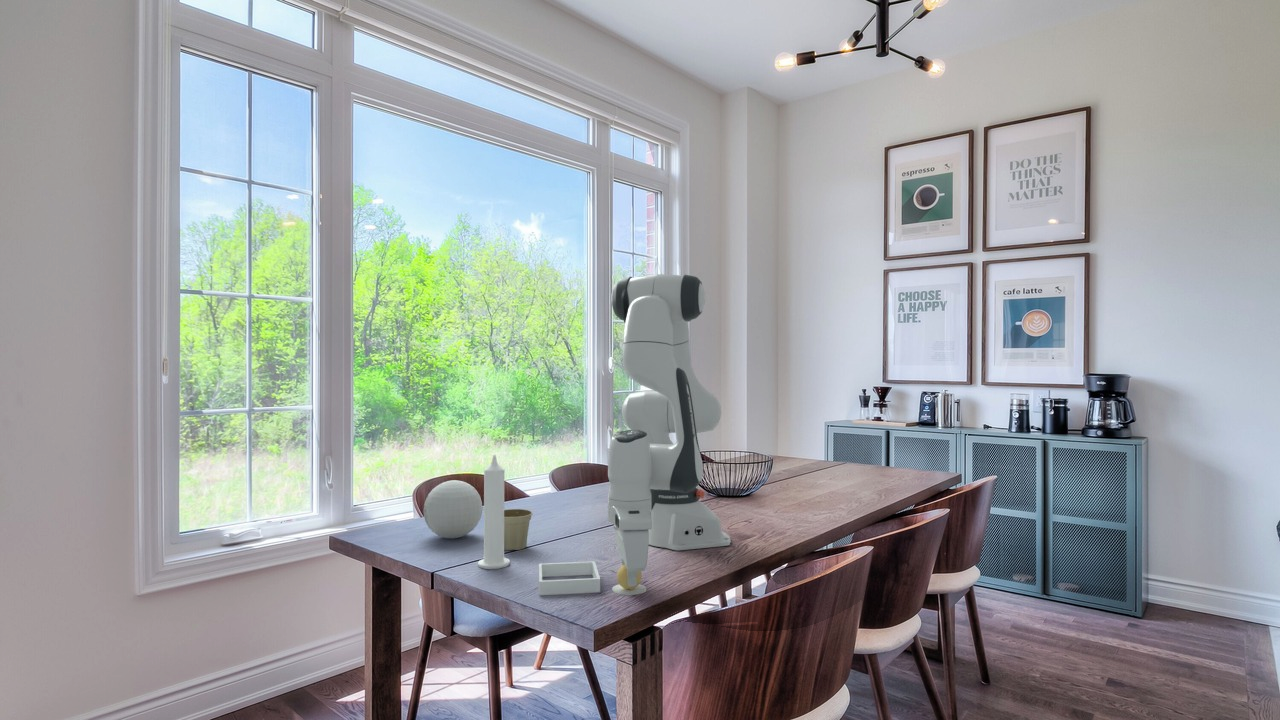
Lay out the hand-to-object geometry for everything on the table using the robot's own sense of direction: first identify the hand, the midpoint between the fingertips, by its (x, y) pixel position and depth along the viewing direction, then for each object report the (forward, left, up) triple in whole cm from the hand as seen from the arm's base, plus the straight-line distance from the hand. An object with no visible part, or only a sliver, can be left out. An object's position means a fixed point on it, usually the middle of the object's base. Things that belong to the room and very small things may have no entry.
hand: (629, 580), depth 134 cm
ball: (0, 0, -2) cm, 2 cm away
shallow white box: (+12, -5, -2) cm, 13 cm away
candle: (+28, -22, -2) cm, 36 cm away
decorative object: (+40, -48, -2) cm, 63 cm away
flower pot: (+24, -36, -2) cm, 43 cm away
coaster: (0, 0, -2) cm, 2 cm away
